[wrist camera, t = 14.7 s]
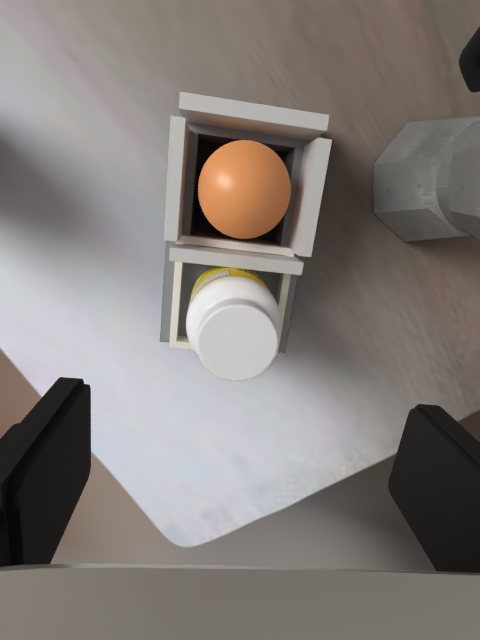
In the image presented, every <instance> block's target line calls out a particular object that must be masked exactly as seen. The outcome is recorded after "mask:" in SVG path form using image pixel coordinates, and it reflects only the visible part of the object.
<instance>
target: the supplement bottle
mask: <svg viewBox="0 0 480 640" xmlns="http://www.w3.org/2000/svg"><path fill="white" fill-rule="evenodd" d="M281 328H282V319H281V313H280V310H279V307H278V305H277V302H276V300H275V299H274V297H273V295H272V294H271V292H270V291H269V289H268V287H267V286H266V285H265V283H264V282H263V280H262V279H261V277H260V276H259V275H258V274H257V273H256V272H255V271H254V270H249V269H240V268H231V267H222V266H213V265H212V266H210V267H208V268H207V269H206V270H204V271H203V272H202V273H201V275H200V276H199V277H198V278H197V280H196V282H195V284H194V287H193V290H192V294H191V299H190V303H189V307H188V312H187V317H186V332H187V336H188V340H189V342H190V344H191V346H192V348H193V350H194V351H195V352H196V354H197V355H198V356H199V358H200V360H201V361H202V363H203V365H204V366H205V367H206V368H207V369H208V370H209V371H210V372H211V373H212V374H214V375H216V376H217V377H220V378H222V379H225V380H230V381H244V380H248V379H251V378H254V377H256V376H258V375H260V374H261V373H262V372H264V371H265V370H266V369H267V368H268V367H269V366H270V365H271V363H272V362H273V360H274V358H275V356H276V353H277V350H278V340H279V338H280V334H281Z"/></svg>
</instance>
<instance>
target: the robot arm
mask: <svg viewBox="0 0 480 640" xmlns="http://www.w3.org/2000/svg"><path fill="white" fill-rule="evenodd" d="M90 468H91V390H90V385H87V384H84V381H83V379H77V378H64V377H60V378H59V379H58V380H57V381H56V382H55V383H54V384H53V386H52V387H51V388H50V389H49V390H48V391H47V393H46V394H45V395H44V396H43V397H42V398H41V399H40V401H39V402H38V403H37V404H36V405H35V406H34V408H33V409H32V410H31V411H30V412H29V413H28V415H27V416H26V417H25V418H24V419H23V420H22V421H21V423H18V424H14V425H13V426H12V427H11V428H10V429H9V430H8V431H7V432H6V433H5V434H4V436H3V437H2V438H1V439H0V640H480V442H478V441H477V440H476V439H475V438H474V437H473V436H472V435H471V434H470V433H469V432H467V431H466V430H465V429H464V428H463V427H462V426H461V425H460V424H459V423H458V422H457V421H455V420H454V419H453V418H452V417H451V416H450V415H449V414H448V413H447V412H446V411H445V410H443V409H442V408H441V407H440V406H437V405H424V404H418V405H417V406H416V407H415V408H414V409H411V410H410V412H409V414H408V418H407V421H406V424H405V428H404V431H403V434H402V438H401V441H400V445H399V448H398V451H397V455H396V458H395V461H394V465H393V468H392V471H391V475H390V478H389V482H388V483H389V484H388V487H389V492H390V494H391V496H392V498H393V499H394V501H395V503H396V504H397V506H398V508H399V509H400V511H401V513H402V514H403V516H404V518H405V519H406V521H407V523H408V524H409V526H410V528H411V529H412V531H413V533H414V534H415V536H416V538H417V539H418V541H419V543H420V544H421V546H422V548H423V549H424V551H425V553H426V554H427V556H428V558H429V559H430V561H431V563H432V564H433V566H434V568H435V569H436V571H437V572H434V571H405V570H372V569H335V568H294V567H256V566H255V567H254V566H205V565H204V566H203V565H154V564H152V565H151V564H50V563H51V560H52V558H53V556H54V553H55V551H56V549H57V547H58V545H59V543H60V540H61V538H62V536H63V534H64V531H65V529H66V527H67V525H68V522H69V520H70V518H71V515H72V513H73V511H74V509H75V507H76V505H77V502H78V500H79V498H80V496H81V494H82V491H83V489H84V487H85V484H86V482H87V480H88V477H89V474H90Z"/></svg>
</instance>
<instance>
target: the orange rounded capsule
mask: <svg viewBox="0 0 480 640" xmlns="http://www.w3.org/2000/svg"><path fill="white" fill-rule="evenodd" d="M290 195H291V184H290V178H289V174H288V171H287V169H286V166H285V165H284V163H283V161H282V160H281V158H280V157H279V156H278V155H277V154H276V153H275V152H274V151H273V150H272V149H270V148H269V147H267V146H265V145H264V144H261V143H259V142H255V141H251V140H238V141H234V142H230V143H228V144H225V145H224V146H222V147H220V148H219V149H217V150H216V151H215V152H214V153H213V154H212V155H211V156H210V157H209V158H208V160H207V161H206V163H205V164H204V166H203V169H202V171H201V174H200V177H199V183H198V196H199V202H200V205H201V208H202V211H203V213H204V215H205V216H206V218H207V219H208V221H209V222H210V223H211V224H212V225H213V226H214V227H215V228H216V229H217V230H219V231H220V232H222V233H223V234H226V235H228V236H231V237H234V238H239V239H249V238H255V237H258V236H261V235H263V234H265V233H267V232H269V231H270V230H271V229H273V228H274V227H275V226H276V225H277V224H278V223H279V222H280V220H281V219H282V217H283V216H284V214H285V212H286V210H287V208H288V205H289V201H290Z"/></svg>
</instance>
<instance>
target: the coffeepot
mask: <svg viewBox="0 0 480 640" xmlns="http://www.w3.org/2000/svg"><path fill="white" fill-rule="evenodd" d="M459 65H460V70H461V73H462V75H463V78H464V80H465V82H466V84H467V87H468V89H469V90H470V91H471V92H478V91H480V27H479V28H478V30H477V31H476V32H475V34H474V35H473V37H472V38H471V39H470V41H469V42H468V44H467V45H466V46H465V48H464V49H463V51H462V53H461V55H460V59H459ZM372 192H373V201H374V214H375V215H376V216H377V217H378V218H379V219H381V220H382V221H383V223H384V224H385V225H386V226H387V227H388V228H389V229H391V230H392V231H393V232H394V233H396V234H397V235H398V236H399V237H400V238H401V239H402V240H403V241H404V242H409V241H419V240H429V239H439V238H450V237H461V236H472V235H473V236H474V237H475V238H476V239H477V240H478V241H479V242H480V115H476V116H461V117H450V118H442V119H433V120H424V121H416V122H408V123H407V124H406V125H405V127H404V128H403V129H402V130H401V131H400V133H399V134H398V135H397V136H396V137H395V138H394V139H393V140H392V141H391V142H390V143H389V145H388V146H387V147H386V149H385V150H384V152H383V153H382V154H381V156H380V157H379V158H378V159H377V161H376V162H375V163H374V172H373V186H372Z"/></svg>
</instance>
